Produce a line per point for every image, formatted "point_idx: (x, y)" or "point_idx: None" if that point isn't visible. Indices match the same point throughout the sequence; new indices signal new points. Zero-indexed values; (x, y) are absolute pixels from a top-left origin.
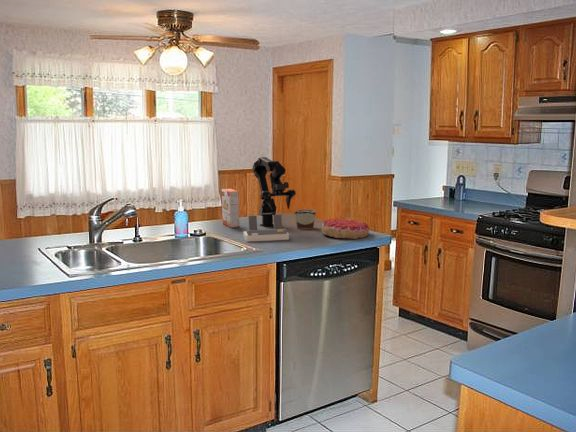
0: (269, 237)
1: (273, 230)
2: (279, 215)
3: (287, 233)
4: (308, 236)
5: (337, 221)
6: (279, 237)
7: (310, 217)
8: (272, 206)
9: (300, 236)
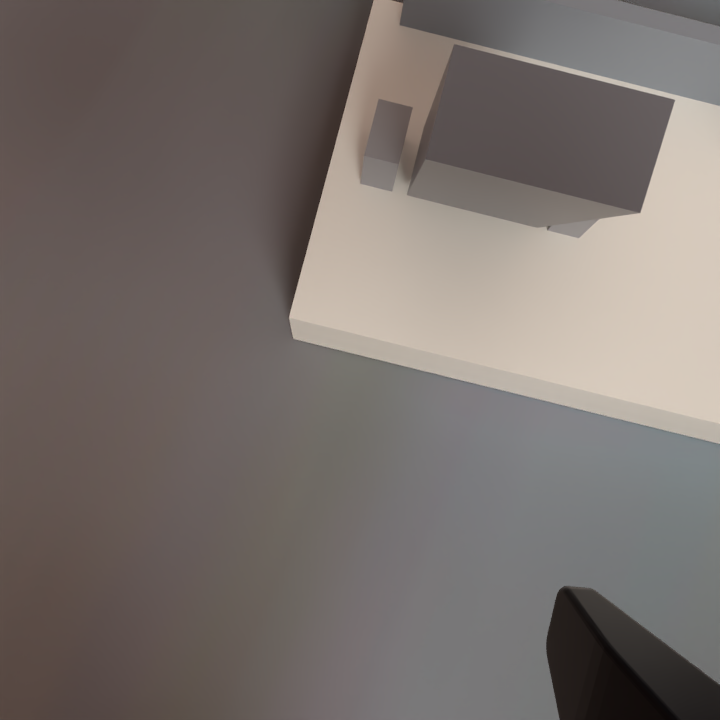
0: None
1: (640, 19)
2: (502, 63)
3: (382, 28)
4: (9, 109)
5: None
6: None
7: None
8: (620, 651)
9: (116, 161)
